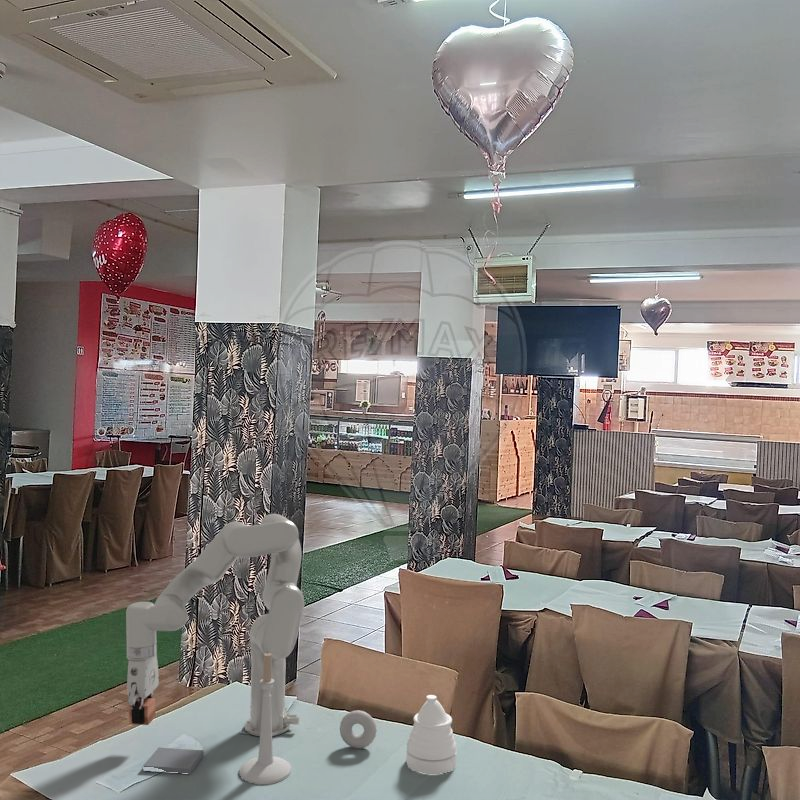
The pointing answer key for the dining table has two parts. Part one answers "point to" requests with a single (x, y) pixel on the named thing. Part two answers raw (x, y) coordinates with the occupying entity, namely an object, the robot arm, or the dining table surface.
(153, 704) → the brown cube
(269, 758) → the candlestick
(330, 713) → the dining table surface
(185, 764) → the slate board
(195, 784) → the dining table surface
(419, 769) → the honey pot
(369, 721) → the donut
